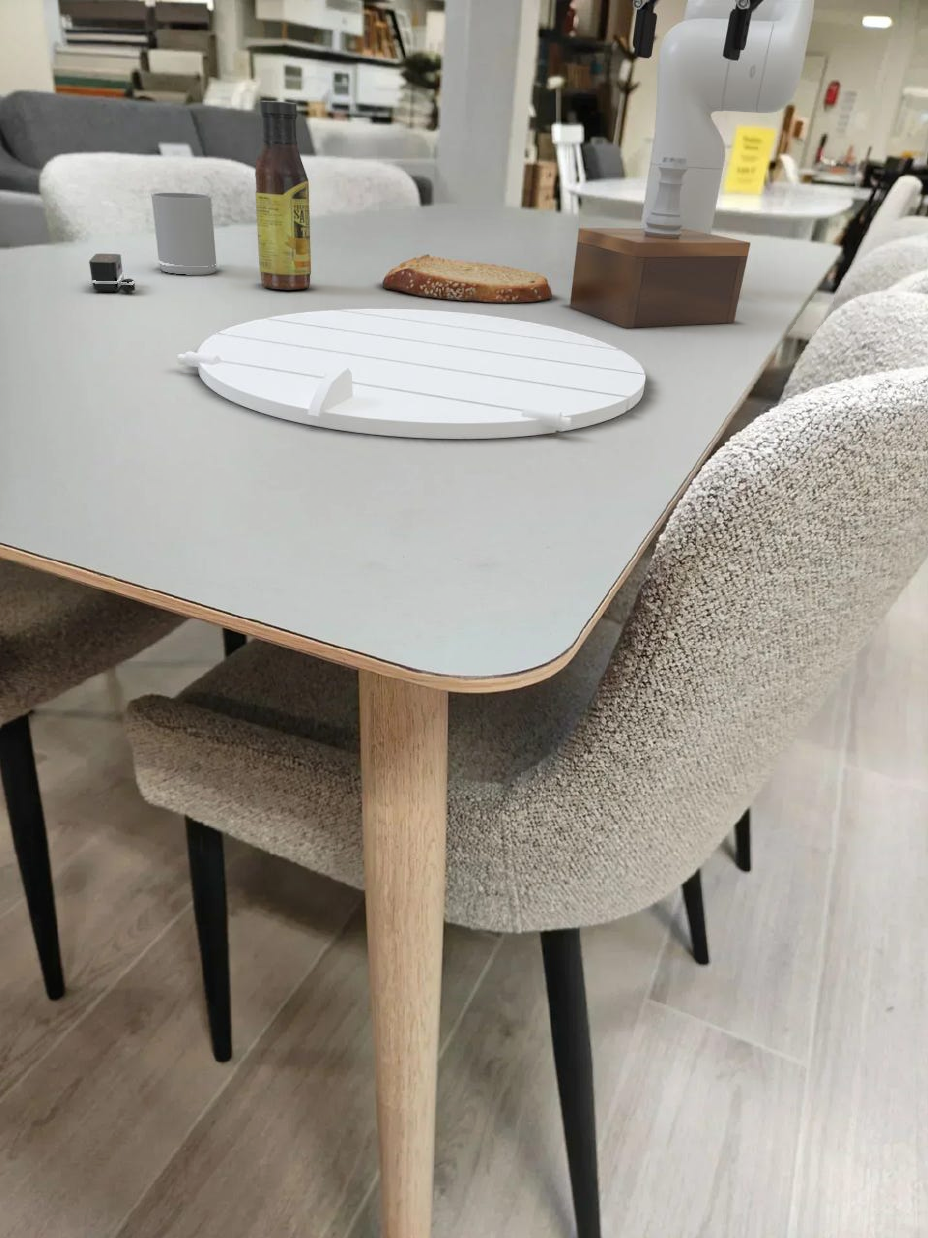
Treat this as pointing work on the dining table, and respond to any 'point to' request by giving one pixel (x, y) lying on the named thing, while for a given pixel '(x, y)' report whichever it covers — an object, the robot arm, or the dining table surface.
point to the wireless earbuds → (108, 273)
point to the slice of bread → (466, 281)
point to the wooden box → (657, 277)
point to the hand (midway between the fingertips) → (685, 57)
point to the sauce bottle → (282, 202)
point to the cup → (184, 232)
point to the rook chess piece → (667, 201)
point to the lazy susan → (419, 373)
